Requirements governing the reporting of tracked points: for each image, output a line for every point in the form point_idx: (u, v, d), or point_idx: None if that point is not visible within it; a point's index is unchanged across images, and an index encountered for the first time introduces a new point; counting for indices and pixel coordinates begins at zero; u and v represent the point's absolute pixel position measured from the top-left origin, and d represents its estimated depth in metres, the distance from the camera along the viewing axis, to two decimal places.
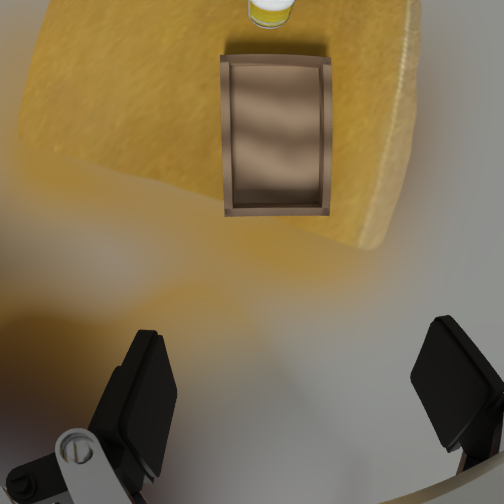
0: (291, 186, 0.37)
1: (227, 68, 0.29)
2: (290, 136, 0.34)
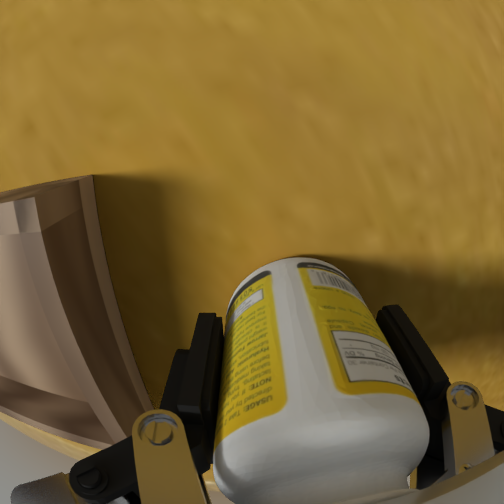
0: None
1: (3, 229, 0.06)
2: None
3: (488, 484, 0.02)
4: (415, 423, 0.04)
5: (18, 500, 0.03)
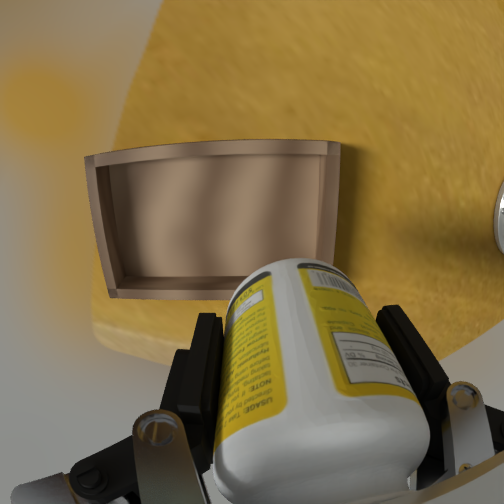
0: (140, 241, 0.25)
1: (316, 152, 0.20)
2: (208, 238, 0.25)
3: (488, 484, 0.02)
4: (416, 424, 0.04)
5: (18, 500, 0.03)
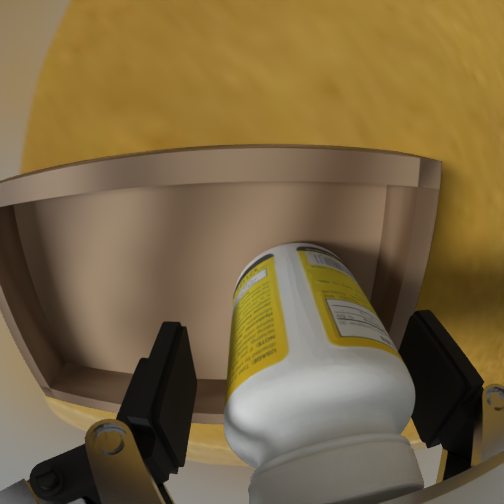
0: (72, 322, 0.14)
1: (398, 180, 0.08)
2: None
3: (488, 484, 0.02)
4: (398, 375, 0.06)
5: None
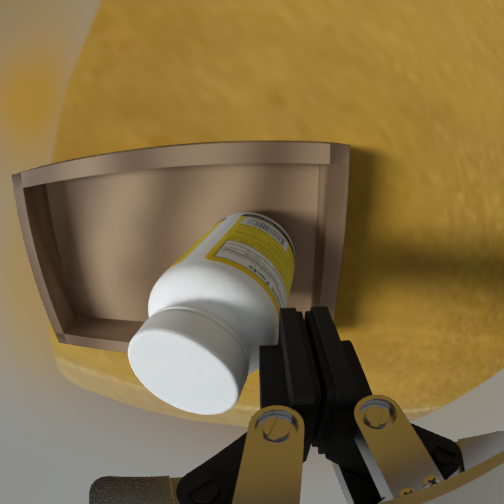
0: (87, 277, 0.19)
1: (313, 160, 0.13)
2: None
3: (488, 484, 0.02)
4: (242, 286, 0.10)
5: (98, 488, 0.04)
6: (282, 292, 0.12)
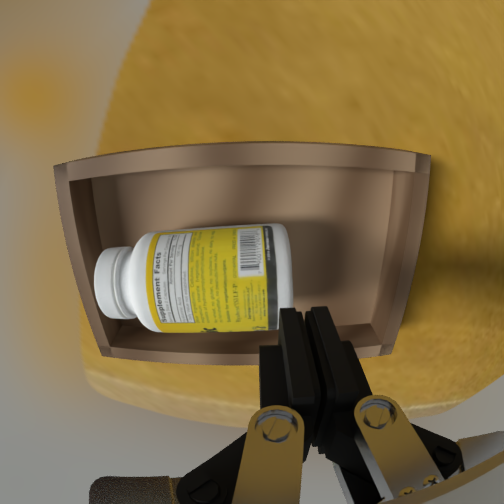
0: None
1: (401, 167, 0.13)
2: None
3: (488, 484, 0.02)
4: (134, 257, 0.13)
5: (97, 488, 0.04)
6: (175, 293, 0.12)
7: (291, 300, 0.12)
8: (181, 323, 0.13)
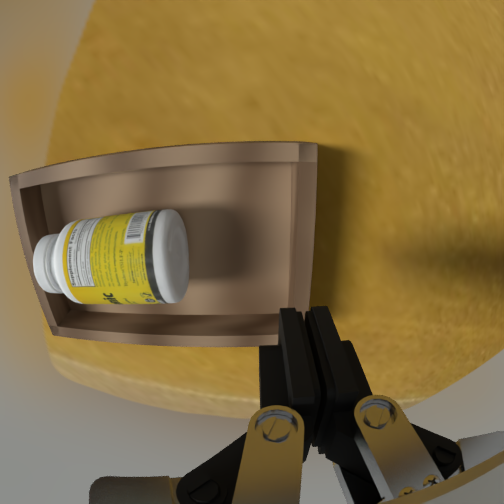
0: None
1: (282, 158, 0.15)
2: None
3: (488, 484, 0.02)
4: (60, 233, 0.14)
5: (97, 488, 0.04)
6: (80, 258, 0.14)
7: (166, 265, 0.14)
8: (85, 286, 0.14)
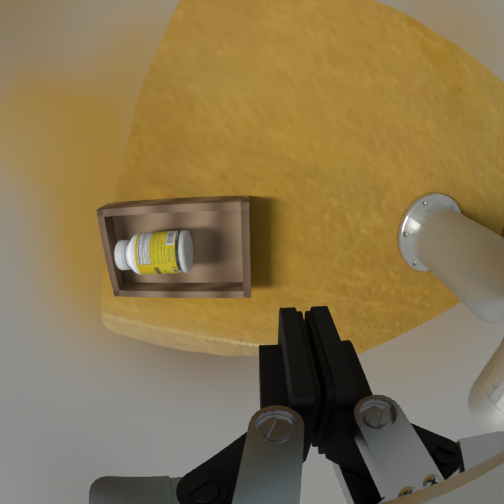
0: None
1: (233, 209, 0.34)
2: None
3: (488, 484, 0.02)
4: (131, 240, 0.35)
5: (98, 488, 0.04)
6: (144, 251, 0.34)
7: (183, 254, 0.34)
8: (145, 264, 0.34)
